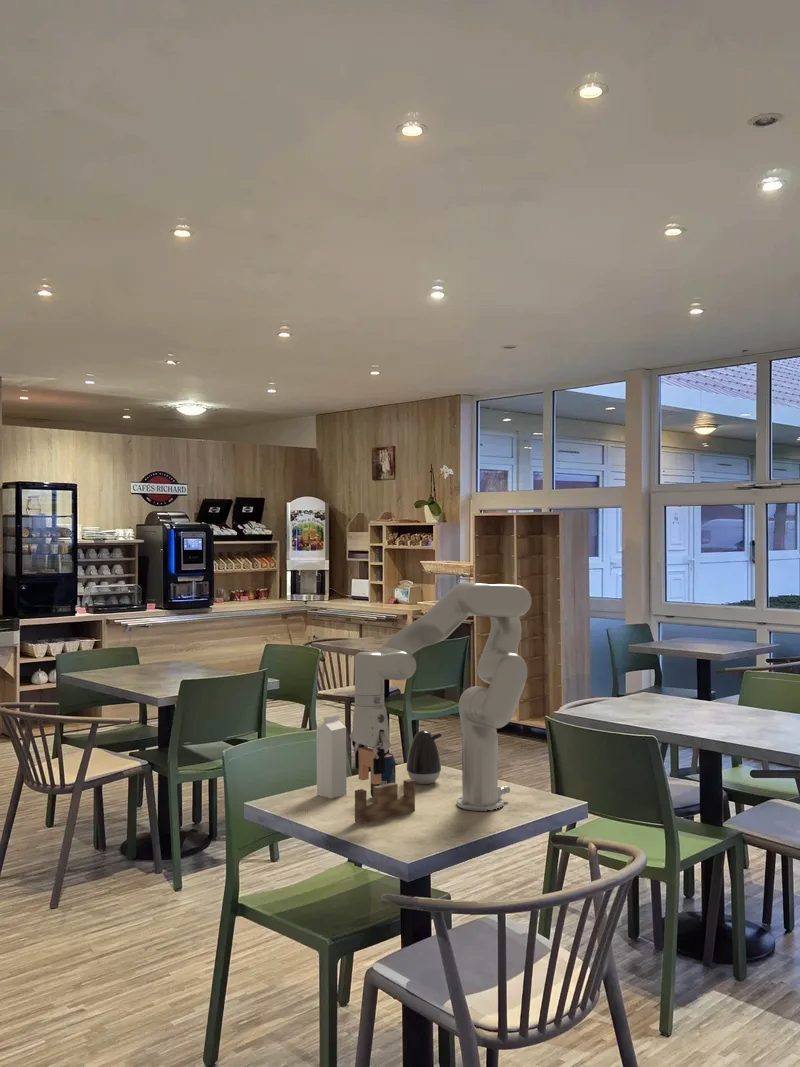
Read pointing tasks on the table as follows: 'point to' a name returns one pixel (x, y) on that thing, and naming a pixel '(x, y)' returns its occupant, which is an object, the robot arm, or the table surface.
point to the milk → (331, 758)
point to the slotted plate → (367, 765)
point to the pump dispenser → (424, 758)
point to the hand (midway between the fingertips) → (369, 770)
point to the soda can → (387, 772)
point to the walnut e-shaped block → (384, 802)
